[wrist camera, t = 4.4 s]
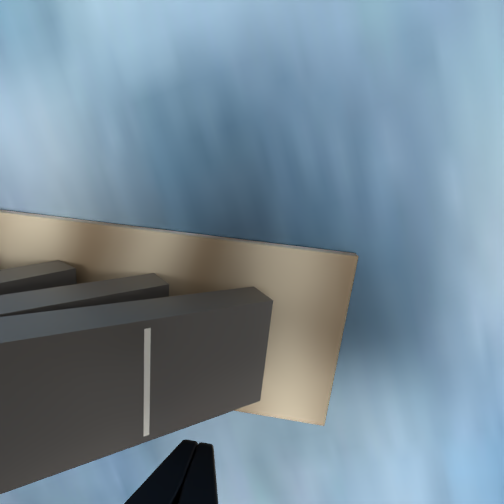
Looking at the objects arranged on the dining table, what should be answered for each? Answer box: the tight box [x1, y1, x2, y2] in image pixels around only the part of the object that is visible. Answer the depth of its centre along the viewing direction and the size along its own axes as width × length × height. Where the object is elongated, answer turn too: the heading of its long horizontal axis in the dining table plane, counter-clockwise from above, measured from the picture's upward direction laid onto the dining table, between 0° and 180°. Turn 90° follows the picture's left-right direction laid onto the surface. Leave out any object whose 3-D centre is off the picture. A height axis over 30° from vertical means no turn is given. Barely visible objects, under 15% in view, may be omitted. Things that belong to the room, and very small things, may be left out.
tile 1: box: [0, 286, 273, 494], centre depth 11 cm, size 2×5×10 cm
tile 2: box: [0, 273, 169, 317], centre depth 11 cm, size 2×5×10 cm
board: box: [0, 210, 358, 426], centre depth 15 cm, size 26×9×1 cm, turn 84°
